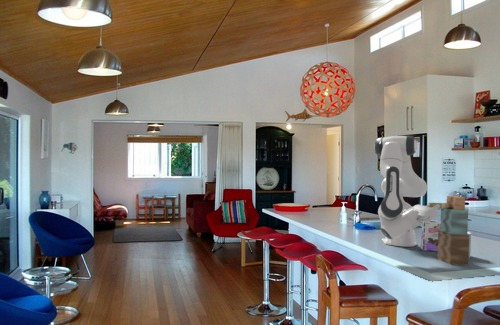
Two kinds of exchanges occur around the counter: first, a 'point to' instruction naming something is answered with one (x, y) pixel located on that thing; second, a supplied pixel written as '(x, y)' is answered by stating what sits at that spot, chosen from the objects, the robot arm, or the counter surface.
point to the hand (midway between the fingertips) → (436, 204)
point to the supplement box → (469, 242)
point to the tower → (453, 237)
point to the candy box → (430, 235)
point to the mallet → (451, 203)
